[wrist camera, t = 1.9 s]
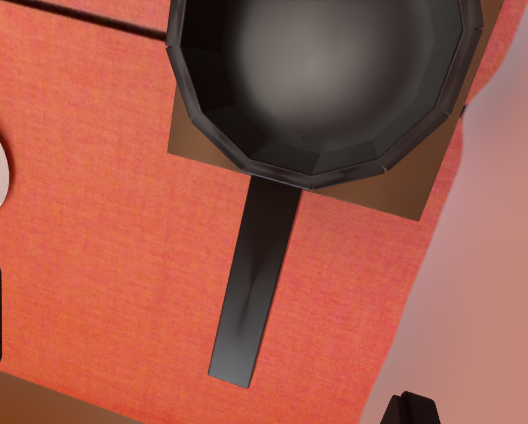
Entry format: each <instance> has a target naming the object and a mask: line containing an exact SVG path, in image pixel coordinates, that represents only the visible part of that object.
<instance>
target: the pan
mask: <svg viewBox="0 0 528 424" xmlns="http://www.w3.org/2000/svg"><path fill="white" fill-rule="evenodd" d="M482 27H484V21H483V15H482V8H481V1H480V0H171V3H170V11H169V19H168V27H167V35H166V43H165V44H166V46H169V47H167V48H166V51H167V54H168V57H169V60H170V63H171V66H172V69H173V72H174V75H175V78H176V81H177V84H178V87H179V89H180V92H181V95H182V98H183V101H184V104H185V107H186V110H187V113H188V116H189V119H191V120H192V119H193V120H192V124H193V125H194V126H195V127H196V128H198V129H199V130H200V131H201V132H202V133H203V134H204V135H205V136H206V137H207V138H208V139H209V140H210V141H211V142H212V143H213V144H214V145H215V146H216V147H217V148H218V149H219V150H220V151H221V152H222V153H223V154H224V155H225V156H226V157H227V158H228V159H229V160H230V161H231V162H232V163H233V164H235V165H236V166H237V167H238V168H239V169H240V170H241V171H242V170H243V169H244V172H245V173H248V174H252V175H251V179H250V184H249V188H248V193H247V197H246V202H245V206H244V211H243V216H242V220H241V225H240V229H239V234H238V238H237V243H236V247H235V252H234V256H233V261H232V265H231V270H230V275H229V279H228V284H227V288H226V293H225V297H224V302H223V306H222V311H221V315H220V320H219V324H218V329H217V334H216V338H215V343H214V347H213V352H212V356H211V361H210V365H209V370H208V375H209V376H212V377H215V378H218V379H221V380H223V381H226V382H229V383H232V384H235V385H238V386H241V387H244V388H247V389H248V388H249V386H250V383H251V380H252V377H253V374H254V371H255V368H256V364H257V361H258V357H259V353H260V350H261V346H262V342H263V339H264V335H265V331H266V328H267V324H268V320H269V317H270V313H271V309H272V306H273V302H274V298H275V295H276V291H277V287H278V284H279V280H280V276H281V273H282V269H283V265H284V262H285V258H286V254H287V251H288V247H289V243H290V240H291V236H292V232H293V229H294V225H295V221H296V218H297V214H298V210H299V207H300V203H301V199H302V196H303V192H304V189H306V190H311V188H312V189H313V190H319V189H323V188H327V187H332V186H336V185H340V184H344V183H348V182H352V181H357V180H361V179H365V178H369V177H373V176H378V175H382V174H384V172H385V171H386V172H388V171H390V170H391V169H392V168H393V167H394V166H395V165H396V164H398V163H399V162H400V161H401V160H402V159H403V158H404V157H405V156H407V155H408V154H409V153H410V152H411V151H412V150H413V149H415V148H416V147H417V146H418V145H419V144H420V143H421V142H422V141H424V140H425V139H426V138H427V137H428V136H429V135H430V134H432V133H433V132H434V131H435V130H436V129H437V128H438V127H439V126H441V125H442V124H443V123H444V122H445V121H446V120H447V119H448V116H447V115H451V114H452V111H453V109H454V106H455V104H456V101H457V98H458V96H459V93H460V91H461V88H462V85H463V83H464V80H465V77H466V75H467V72H468V70H469V67H470V64H471V62H472V59H473V57H474V54H475V51H476V49H477V46H478V44H479V41H480V38H481V36H482V33H483V30H482V29H480V28H482ZM446 114H447V115H446ZM384 170H385V171H384Z"/></svg>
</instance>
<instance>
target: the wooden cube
mask: <svg viewBox="0 0 528 424" xmlns="http://www.w3.org/2000/svg"><path fill="white" fill-rule="evenodd" d="M480 1H481V8H482V15H483V21H484V27H482V28H480V29H482V30H483V33H482V36H481V38H480V41H479V44H478V46H477V49H476V51H475V54H474V57H473V59H472V62H471V64H470V67H469V70H468V72H467V75H466V77H465V80H464V83H463V85H462V88H461V91H460V93H459V96H458V98H457V101H456V104H455V106H454V109H453V111H452V114H451V115H447V114H446V115H447V116H448V119H447V120H446V121H445V122H444V123H443V124H442V125H441V126H439V127H438V128H437V129H436V130H435V131H434V132H433V133H432V134H430V135H429V136H428V137H427V138H426V139H425V140H424V141H422V142H421V143H420V144H419V145H418V146H417V147H416V148H415V149H413V150H412V151H411V152H410V153H409V154H408V155H407V156H405V157H404V158H403V159H402V160H401V161H400V162H399V163H398V164H396V165H395V166H394V167H393V168H392V169H391V170H390V171H388V172H386V171H385V170H384V171H385V172H384V174H382V175H378V176H373V177H369V178H365V179H361V180H357V181H352V182H348V183H344V184H340V185H336V186H332V187H327V188H323V189H319V190H313V189H312V188H311V190H306V189H304V190H305V191H308V192H312V193H316V194H319V195H323V196H327V197H330V198H334V199H338V200H341V201H345V202H349V203H352V204H356V205H360V206H363V207H367V208H371V209H374V210H378V211H382V212H385V213H389V214H392V215H396V216H400V217H403V218H407V219H411V220H414V221H420V218H421V215H422V213H423V210H424V208H425V205H426V202H427V200H428V197H429V195H430V192H431V189H432V187H433V184H434V182H435V179H436V176H437V174H438V171H439V169H440V166H441V163H442V161H443V158H444V156H445V153H446V150H447V148H448V145H449V143H450V140H451V137H452V135H453V132H454V130H455V127H456V124H457V122H458V119H459V117H460V114H461V111H462V109H463V106H464V104H465V101H466V98H467V96H468V93H469V91H470V88H471V85H472V83H473V80H474V78H475V75H476V72H477V70H478V67H479V65H480V62H481V59H482V57H483V54H484V52H485V49H486V46H487V44H488V41H489V39H490V36H491V33H492V31H493V28H494V26H495V23H496V20H497V18H498V15H499V13H500V10H501V7H502V5H503V2H504V0H480ZM192 120H193V119H192ZM192 120H191V119H189V116H188V113H187V110H186V107H185V104H184V101H183V98H182V95H181V92H180V89H179V87H178V84H176V91H175V99H174V106H173V113H172V121H171V128H170V136H169V143H168V151H167V153H169V154H173V155H176V156H180V157H184V158H187V159H191V160H195V161H198V162H202V163H206V164H209V165H213V166H217V167H220V168H224V169H228V170H231V171H235V172H239V173H242V174H246V175H250V176H251V175H252V174H248V173H245V172H244V169H243V170H242V171H241V170H240V169H239V168H238V167H237V166H236V165H235V164H233V163H232V162H231V161H230V160H229V159H228V158H227V157H226V156H225V155H224V154H223V153H222V152H221V151H220V150H219V149H218V148H217V147H216V146H215V145H214V144H213V143H212V142H211V141H210V140H209V139H208V138H207V137H206V136H205V135H204V134H203V133H202V132H201V131H200V130H199V129H198V128H196V127H195V126H194V125H193V124H192Z"/></svg>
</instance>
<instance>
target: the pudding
mask: <svg viewBox="0 0 528 424" xmlns="http://www.w3.org/2000/svg"><path fill="white" fill-rule="evenodd" d="M8 185H9V169H8V163H7V159H6V156H5V153H4V150H3V148H2V146H1V143H0V206H1V204H2V203H3V201H4V199H5V197H6V194H7V191H8Z"/></svg>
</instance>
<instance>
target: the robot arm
mask: <svg viewBox="0 0 528 424" xmlns="http://www.w3.org/2000/svg"><path fill="white" fill-rule="evenodd" d="M1 358H2V280H1V269H0V361H1ZM380 424H441V423H440V420H439V416H438V412H437V408H436V405H435V402H434V401H433V400H432V399H429V398H426V397H423V396H420V395H417V394H414V393H411V392H408V391H404V392H403V393H402V395H401V397H400V396H396V395H393V396H392V398H391V400H390V402H389V404H388V407H387V409H386V411H385V414H384V416H383V418H382V420H381V423H380Z"/></svg>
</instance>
